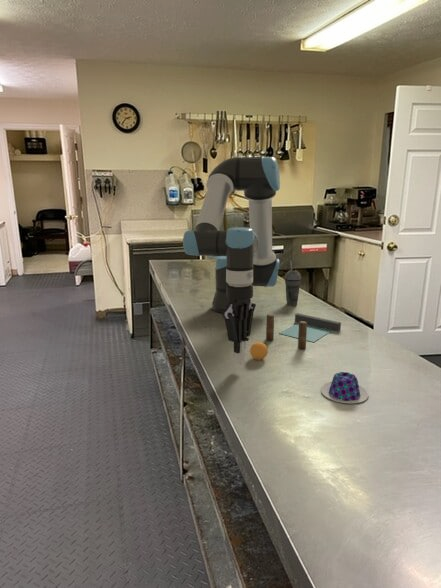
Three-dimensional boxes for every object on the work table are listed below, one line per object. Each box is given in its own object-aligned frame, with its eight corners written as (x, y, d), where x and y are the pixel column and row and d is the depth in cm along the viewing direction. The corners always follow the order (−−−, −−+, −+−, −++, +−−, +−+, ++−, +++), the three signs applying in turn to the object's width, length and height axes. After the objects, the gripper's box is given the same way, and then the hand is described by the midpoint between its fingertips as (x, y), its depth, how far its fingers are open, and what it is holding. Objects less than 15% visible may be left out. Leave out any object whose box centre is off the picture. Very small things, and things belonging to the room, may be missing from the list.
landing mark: (278, 333, 156) (278, 333, 156) (298, 323, 167) (298, 323, 167) (313, 342, 148) (313, 342, 148) (331, 331, 158) (331, 330, 158)
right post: (296, 348, 143) (297, 322, 140) (300, 346, 145) (301, 320, 142) (303, 350, 141) (304, 324, 139) (307, 348, 143) (308, 322, 141)
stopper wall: (294, 321, 169) (295, 314, 168) (297, 320, 170) (297, 313, 169) (338, 331, 158) (338, 323, 157) (340, 330, 159) (340, 322, 158)
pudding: (333, 379, 122) (334, 362, 120) (375, 392, 114) (377, 374, 113) (312, 395, 113) (313, 377, 112) (356, 411, 106) (358, 391, 104)
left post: (264, 339, 151) (265, 315, 148) (268, 337, 152) (269, 313, 150) (270, 341, 149) (271, 316, 147) (274, 339, 151) (275, 314, 148)
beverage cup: (300, 307, 187) (301, 261, 182) (283, 306, 189) (284, 261, 184) (300, 302, 194) (302, 258, 189) (284, 301, 196) (285, 258, 190)
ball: (246, 359, 135) (246, 343, 133) (256, 354, 139) (256, 338, 137) (261, 364, 131) (261, 347, 130) (270, 358, 135) (271, 342, 134)
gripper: (236, 290, 113) (236, 372, 119) (264, 281, 123) (262, 357, 129) (214, 286, 118) (215, 365, 124) (242, 277, 128) (242, 351, 134)
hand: (239, 361), depth 127 cm, fingers closed
